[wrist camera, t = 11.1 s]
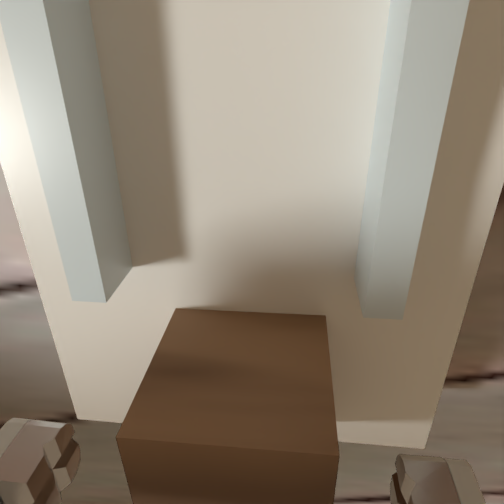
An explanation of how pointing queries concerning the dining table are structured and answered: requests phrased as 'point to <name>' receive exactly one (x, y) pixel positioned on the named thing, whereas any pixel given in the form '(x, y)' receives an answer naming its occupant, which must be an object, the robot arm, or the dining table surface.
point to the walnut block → (234, 413)
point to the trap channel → (257, 181)
